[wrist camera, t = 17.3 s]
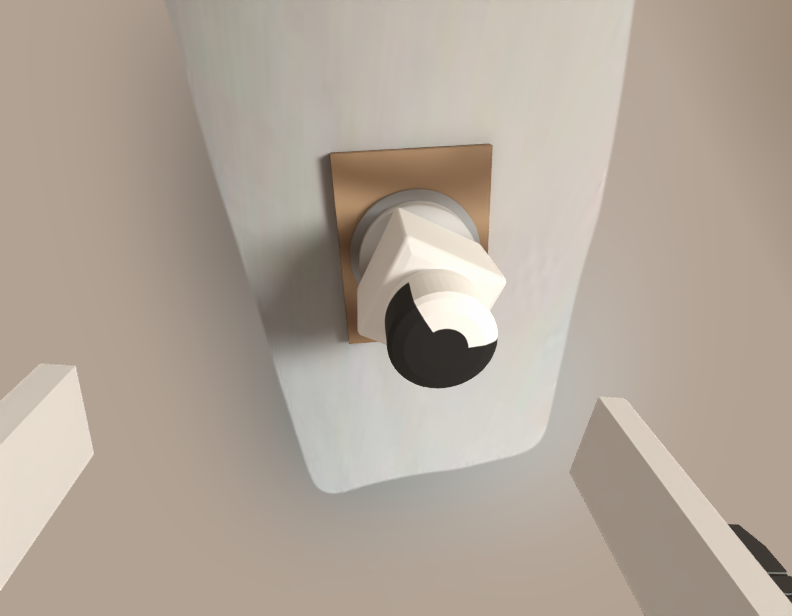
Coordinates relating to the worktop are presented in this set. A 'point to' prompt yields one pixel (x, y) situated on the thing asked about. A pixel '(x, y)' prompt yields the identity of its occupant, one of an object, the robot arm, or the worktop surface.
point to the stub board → (403, 173)
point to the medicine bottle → (430, 301)
